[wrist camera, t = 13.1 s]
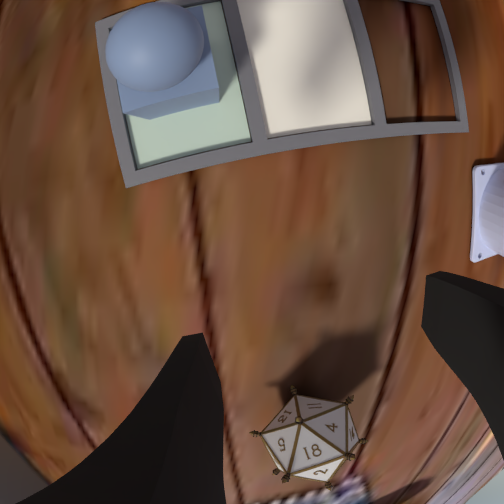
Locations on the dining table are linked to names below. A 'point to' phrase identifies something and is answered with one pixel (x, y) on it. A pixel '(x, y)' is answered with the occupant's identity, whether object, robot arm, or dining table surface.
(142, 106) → the pawn
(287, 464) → the game die
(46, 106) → the dining table surface
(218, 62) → the game board
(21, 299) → the dining table surface
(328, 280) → the dining table surface
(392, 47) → the dining table surface
